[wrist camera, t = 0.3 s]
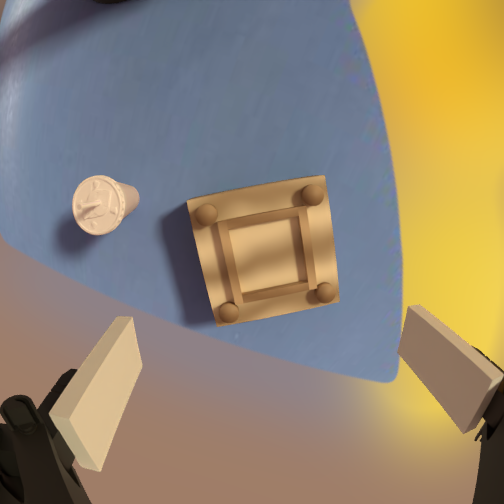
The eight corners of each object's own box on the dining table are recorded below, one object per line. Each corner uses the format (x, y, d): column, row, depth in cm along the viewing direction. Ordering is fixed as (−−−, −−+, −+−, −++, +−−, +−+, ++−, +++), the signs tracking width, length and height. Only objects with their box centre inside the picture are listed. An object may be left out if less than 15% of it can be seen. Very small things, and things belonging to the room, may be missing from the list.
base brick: (192, 197, 37) (184, 201, 31) (313, 175, 37) (327, 175, 31) (218, 310, 41) (216, 331, 35) (328, 287, 41) (342, 305, 35)
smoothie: (157, 202, 37) (117, 216, 23) (123, 231, 37) (73, 258, 24) (131, 165, 35) (80, 161, 22) (98, 195, 36) (40, 206, 22)
